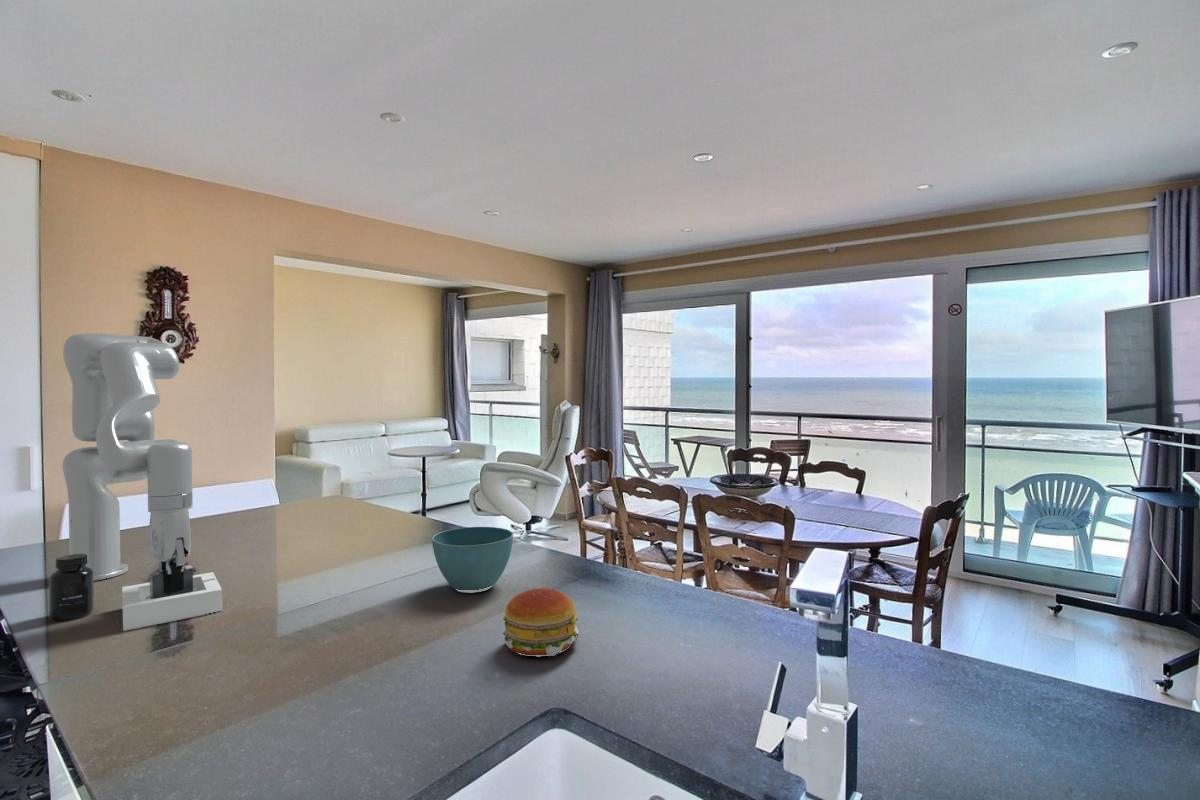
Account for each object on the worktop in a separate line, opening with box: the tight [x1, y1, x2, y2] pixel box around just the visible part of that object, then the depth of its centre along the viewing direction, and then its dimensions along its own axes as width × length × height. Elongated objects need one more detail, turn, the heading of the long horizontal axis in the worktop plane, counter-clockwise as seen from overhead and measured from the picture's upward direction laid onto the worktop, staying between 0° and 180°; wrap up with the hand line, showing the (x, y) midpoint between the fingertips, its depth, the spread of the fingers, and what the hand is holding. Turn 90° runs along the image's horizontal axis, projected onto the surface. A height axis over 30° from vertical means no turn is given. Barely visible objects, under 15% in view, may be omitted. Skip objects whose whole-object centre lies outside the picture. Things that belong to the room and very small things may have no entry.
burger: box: [502, 587, 580, 657], centre depth 106 cm, size 13×14×10 cm
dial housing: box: [121, 571, 223, 632], centre depth 124 cm, size 15×16×5 cm
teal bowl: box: [431, 526, 514, 590], centre depth 137 cm, size 18×18×12 cm
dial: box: [145, 564, 198, 600], centre depth 124 cm, size 9×9×7 cm
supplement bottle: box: [48, 554, 95, 622], centre depth 121 cm, size 7×7×12 cm
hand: (171, 589), depth 124 cm, fingers closed on dial, 2 cm apart
